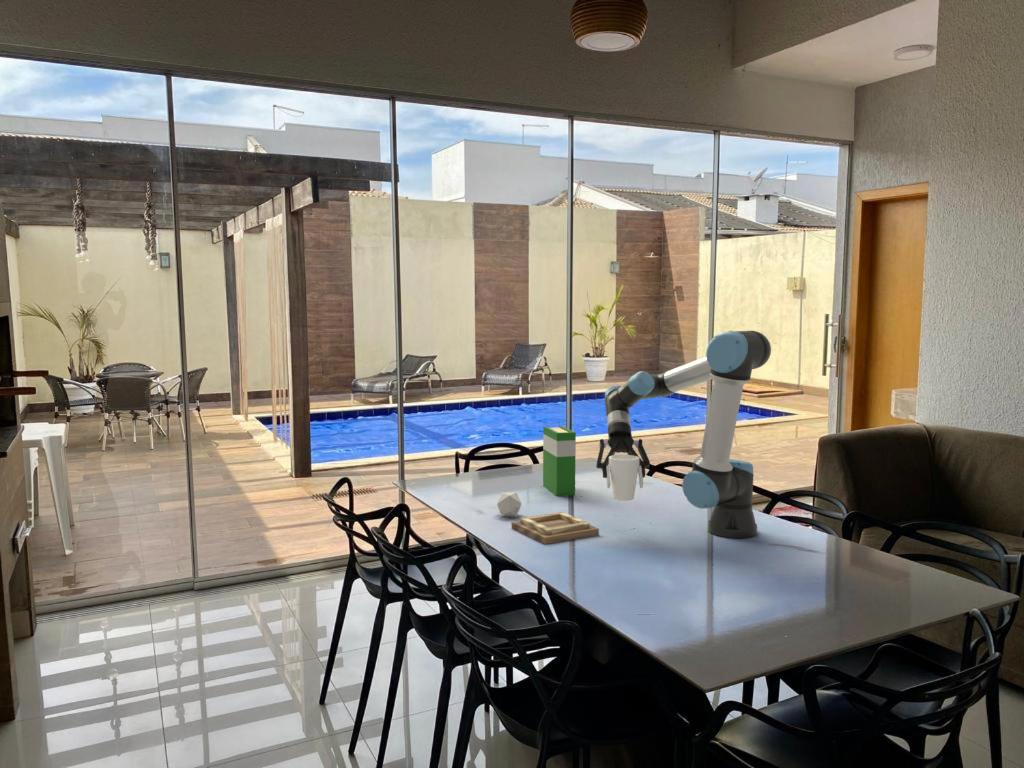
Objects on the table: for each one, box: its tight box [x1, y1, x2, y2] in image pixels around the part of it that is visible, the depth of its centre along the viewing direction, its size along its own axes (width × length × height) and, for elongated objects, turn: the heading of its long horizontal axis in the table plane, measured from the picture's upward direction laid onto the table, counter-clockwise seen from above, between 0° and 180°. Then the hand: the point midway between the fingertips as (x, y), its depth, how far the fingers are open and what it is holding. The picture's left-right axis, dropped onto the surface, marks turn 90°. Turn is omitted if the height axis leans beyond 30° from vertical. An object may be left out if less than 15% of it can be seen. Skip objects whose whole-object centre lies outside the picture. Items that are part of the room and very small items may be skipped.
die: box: [496, 492, 522, 518], centre depth 274 cm, size 8×9×10 cm
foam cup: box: [608, 454, 640, 502], centre depth 251 cm, size 10×9×13 cm
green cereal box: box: [542, 425, 577, 497], centre depth 310 cm, size 18×7×24 cm, turn 14°
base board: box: [511, 511, 600, 545], centre depth 254 cm, size 20×20×4 cm
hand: (625, 485), depth 248 cm, fingers closed on foam cup, 9 cm apart
